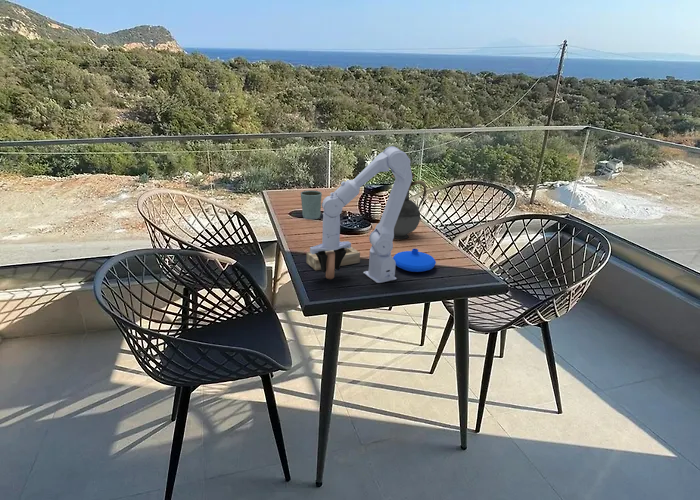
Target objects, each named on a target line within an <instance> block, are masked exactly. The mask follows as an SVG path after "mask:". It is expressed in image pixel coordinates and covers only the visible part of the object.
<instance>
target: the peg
mask: <svg viewBox="0 0 700 500" xmlns="http://www.w3.org/2000/svg"><path fill="white" fill-rule="evenodd" d="M326 255H327V256H328V258H327V262H326V272H325V278H326V279H328V280H333V279H334V278H335V270H336V269H335V252H333V251H328V252H326Z"/></svg>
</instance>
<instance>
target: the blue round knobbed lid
mask: <svg viewBox="0 0 700 500" xmlns="http://www.w3.org/2000/svg"><path fill="white" fill-rule="evenodd" d="M392 258H393V259H394V260H395V262H396V266H395V267H397V268H400V269H402V270H403V271H406V272H413V273H421V272H422V273H423V272H426V271H430V270H433V268H435V266H436V263H437V261H436V259H435V258H434V257H433V256H432V255H430V254H428V253H426V252H422V251H419V249H418V248H412V249H411V250H405V251H399V252H397V253H395V254H394V255H393V256H392Z"/></svg>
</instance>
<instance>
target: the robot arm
mask: <svg viewBox="0 0 700 500" xmlns="http://www.w3.org/2000/svg"><path fill="white" fill-rule="evenodd" d="M390 170H391V173H392V175H394V176H395V177H394V182H393V185H392V186H391V190H390V192H389V196H388V198H387V201H386V204H385V205H384V209H383V212H382V215H381V218H380V220H379V222H378V223H377V224H376V225H375V227H374V230H373V231H372V232H371V233H370V234H369V236H368V237H369V238H368V239H369V243H370V244H371V247H370V249H369V256H368V257H369V259H368V270H365V271H363V275H365V276H367V277H368V278H369V279H371V280H372V281H373V282H374V283H377V284H381V283H385V282H390V281H395V280H397V277H396V267H397V266H396V262H395V260H394V259H393V256H392V250H393V248H394V244H393V241H394V239H395V238H394V227H395V224H396V221H397V219H398V216H399V213H400V211H401V208H402V205H403V203H404V200H405V197H406V195H407V192H408V189H409V187H410V184H411V181H413V179H412V173H413V171H412V169H411V159H410V158H409V156H408V154H407V153H406V152H405V151H403V150H401V149H399V148H398V147H396V146H394V145H392V146H391V145H390V146H387V147H386V148H384V150H383V151H381V152H380V153H378V154H377V156H376V157H375V158H374V159H373V160H372V161H371V162H370V163H369V164H368V165H366V166H365V167H364V169H362V170H361V171H360V172H359V174H357V176H356V177H355V178H353V179H346V181H344V180H343V181H342V182H341V183H340V186H339V187H338V188H336V190H334V191H333V192H330V193H329V195H327V196H326V197H324V198H323V200H322V202H321V208H322V209H323V214H322V237H321V238H322V239H321V240H322V241H321V242H322V243H319V244H317V245H314V246H310V247H309V252H310V253H311V254H316V255H317V257H318V260H319V262H320V266H321V270H320V271H321V272H323V273H325V274H326V262H327V258H328V256H327V255H326V253H325V252H326V251H332V250H334V252H335V270H337V271H339V270H340V267H341V266H340V264H341V262H342V259H343V258H344V256H345V255H346V250H345V248H351V247H352V243H351V242H350V241H349V240H348V241H347V240H346V241H341V240H340V238H341V235H340V234H341V217H340V216H341V214H342V212H343V208H344V207H346V206H347V205H348V204H349V203H350V202H351V201H353V200H354V198H356V197H357V196H359V195H360V189H361V187H363V186H364V185H365V184H366V183H368V182H369V181H370V180H371V179H373V177H375V176H376V175H377V174H379V173H381V172H382V173H383V172H385V173H386V172H390ZM411 171H412V172H411Z"/></svg>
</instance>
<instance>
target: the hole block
mask: <svg viewBox="0 0 700 500" xmlns="http://www.w3.org/2000/svg"><path fill="white" fill-rule="evenodd" d="M345 250H346V255H345V256H344V258H343V259H342V262H341V264H340V267H344V266H348V265H353V264H359V263H361V262H360V260H361V252H360V251H358V250H357V249H355V248H354V247H353V246H351V248H345ZM332 251H333V252H334V250H332ZM326 252H328V251H326ZM326 252H325V253H326ZM306 264H307V265H308V266H310V267H311V268H312V269H313V270H314V271H321V266H320V262H319V260H318V257H317V255H316V254H311V253H310V251H309V252H306Z"/></svg>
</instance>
